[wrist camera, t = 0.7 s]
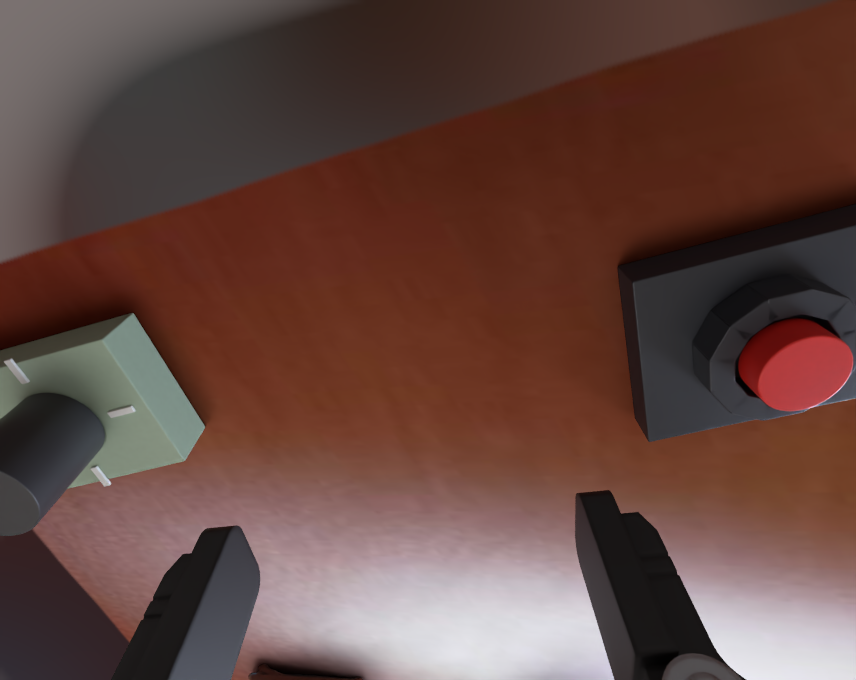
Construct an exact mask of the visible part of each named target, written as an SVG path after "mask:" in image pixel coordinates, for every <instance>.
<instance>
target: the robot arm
mask: <svg viewBox="0 0 856 680" xmlns="http://www.w3.org/2000/svg"><path fill="white" fill-rule="evenodd" d="M575 539H576V548H577V554H578V559H579V563H580V567H581V570H582V573H583V577H584V580H585V583H586V587H587V590H588V593H589V597H590V600H591V603H592V607H593V610H594V613H595V616H596V620H597V623H598V626H599V630H600V633H601V636H602V640H603V643H604V646H605V650H606V653H607V656H608V660H609V663H610V666H611V669H612V673H613V676H614V679H615V680H746V679H744V678H743V677H741V676H740V675H739V674H737V673H736V672H735V671H734V670H733V669H732V668H730V667H729V666H728V665H727V664H726V663H725V661H724V660H723V659H722V658H721V657H720V655H719V654H718V653H717V651H716V649H715V648H714V646H713V644H712V642H711V640H710V638H709V636H708V634H707V632H706V630H705V628H704V626H703V624H702V621H701V619H700V617H699V615H698V613H697V611H696V609H695V607H694V605H693V603H692V601H691V599H690V597H689V595H688V593H687V591H686V589H685V587H684V585H683V583H682V580H681V578H680V576H679V575H677V570H676V568H675V566H674V564H673V562H672V560H671V558H670V557H669V556H668V552H667V550H666V548H665V546H664V544H663V541H662V539H661V537H660V535H659V533H658V531H657V530H656V529H655V528H654V527H653V526H652V525H651V524H650V523H649V522H648V521H647V520H646V519H645V518H644V517H643V516H642V515H641V514H640V513H639V512H634V513H624V514H621V513H620V511H619V508H618V506H617V504H616V501H615V499H614V497H613V495H612V493H611V492H610V491H609V490H605V491H595V492H585V493H577V494H576V515H575ZM259 586H260V571H259V566H258V564H257V561H256V559H255V557H254V555H253V553H252V550H251V548H250V546H249V544H248V542H247V539H246V537H245V535H244V533H243V531H242V529H241V528H240V527H239V526H227V527H217V528H207V529H205V530H204V531H203V532H202V533H201V535H200V537H199V539H198V541H197V543H196V545H195V547H194V549H193V551H192V553H190V554H183V555H182V556H181V557H180V558H179V559H178V560H177V561H176V562H175V563H174V565H173V566H172V567H171V568H170V569H169V570H168V571H167V572H166V573H165V575H164V577H163V579H162V581H161V583H160V584H159V586H158V588H157V590H156V592H155V594H154V596H153V601H151V602H150V604H149V606H148V608H147V610H146V612H145V614H144V619H143V620H141V622H140V624H139V626H138V628H137V630H136V632H135V634H134V636H133V638H132V640H131V641H130V643H129V645H128V648H127V649H126V652H125V653H124V655H123V657H122V659H121V662H120V663H119V665H118V667H117V669H116V671H115V673H114V675H113V677H112V679H111V680H231V678H232V674H233V671H234V668H235V665H236V662H237V659H238V655H239V652H240V649H241V646H242V643H243V640H244V636H245V633H246V630H247V627H248V624H249V621H250V617H251V614H252V611H253V608H254V605H255V602H256V598H257V595H258V592H259Z"/></svg>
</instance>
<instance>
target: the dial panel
mask: <svg viewBox="0 0 856 680" xmlns="http://www.w3.org/2000/svg"><path fill="white" fill-rule="evenodd" d="M38 393H56V394H61V395H65V396H68V397H70V398H73V399H75V400H77V401H79V402H81V403H82V404H84V405H85V406H86V407H88V408H89V409H90V410H91V411H92V412H93V413H94V414H95V415H96V416H97V417H98V419H99V420H100V422H101V424H102V426H103V428H104V432H105V440H104V444H103V446H102V448H101V449H100V451H99V452H98V453H97V454H96V455H95V457H94V458H93V459H92V460H91V461H90V462H89V464H88V465H87V466H86V467H85V468H84V470H83V471H82V472H81V473H80V474H79V475H78V477H77V478H76V479H75V480H74V481H73V482H72V484H71V485H70V486H69V487H68V488H72V487H76V486H81V485H85V484H89V483H93V482H98V481H101V483H102V484H103V485H104V486H109V485H110V484H111V482H110V481H109V480H108V479H110V478H115V477H119V476H123V475H127V474H132V473H136V472H140V471H144V470H148V469H153V468H157V467H161V466H165V465H170V464H174V463H178V462H182V461H185V460H186V458H187V456H188V455H189V453H190V451H191V450H192V448H193V447H194V445H195V443H196V442H197V440H198V438H199V437H200V435H201V434H202V432H203V430H204V429H205V426H204V424H203V423H202V421H201V419H200V418H199V416H198V415H197V413H196V411H195V410H194V408H193V407H192V405H191V404H190V402H189V400H188V399H187V397H186V396H185V394H184V392H183V391H182V389H181V388H180V386H179V385H178V383H177V381H176V380H175V378H174V377H173V375H172V373H171V372H170V370H169V369H168V367H167V365H166V364H165V362H164V361H163V359H162V358H161V356H160V354H159V353H158V351H157V350H156V348H155V346H154V345H153V343H152V342H151V340H150V339H149V337H148V335H147V334H146V332H145V331H144V329H143V327H142V326H141V324H140V323H139V321H138V320H137V318H136V316H135V315H134V313H130V314H127V315H123V316H119V317H116V318H112V319H109V320H105V321H102V322H98V323H95V324H91V325H88V326H84V327H81V328H77V329H74V330H70V331H67V332H63V333H60V334H56V335H53V336H49V337H46V338H42V339H39V340H35V341H32V342H28V343H25V344H21V345H18V346H14V347H11V348H7V349H3V350H0V419H1V418H2V417H3V416H5V415H6V414H7V413H8V412H9V411H11V410H12V409H13V408H14V407H15V406H17V405H18V404H19V403H20V402H21V401H23V400H24V399H25V398H27V397H29V396H31V395H34V394H38ZM68 488H67V489H68Z"/></svg>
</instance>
